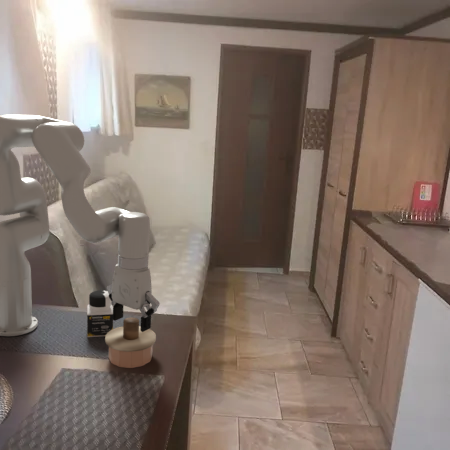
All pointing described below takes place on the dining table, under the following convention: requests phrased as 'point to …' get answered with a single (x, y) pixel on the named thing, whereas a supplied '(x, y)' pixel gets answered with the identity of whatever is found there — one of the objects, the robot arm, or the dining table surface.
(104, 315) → the medicine bottle
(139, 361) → the bowl
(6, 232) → the robot arm
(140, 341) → the lid
